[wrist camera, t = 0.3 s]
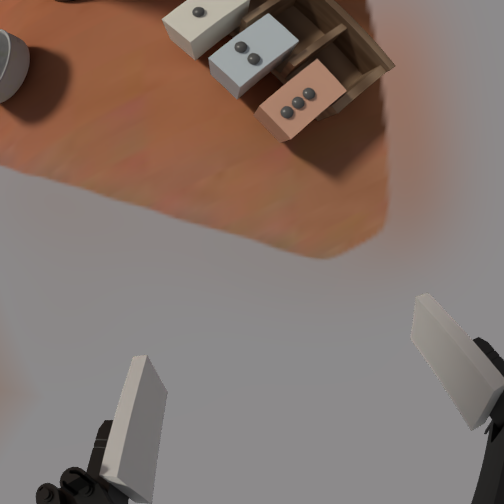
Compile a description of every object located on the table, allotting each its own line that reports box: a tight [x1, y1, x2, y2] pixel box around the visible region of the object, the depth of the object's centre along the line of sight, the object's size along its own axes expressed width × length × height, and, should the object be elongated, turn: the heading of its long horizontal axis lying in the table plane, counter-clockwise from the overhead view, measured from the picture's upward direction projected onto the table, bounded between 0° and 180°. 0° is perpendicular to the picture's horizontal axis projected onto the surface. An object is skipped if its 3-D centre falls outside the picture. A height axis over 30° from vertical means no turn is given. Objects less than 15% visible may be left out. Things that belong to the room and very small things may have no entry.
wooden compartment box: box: [229, 0, 395, 121], centre depth 28 cm, size 10×21×8 cm, turn 44°
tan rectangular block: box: [253, 59, 347, 143], centre depth 29 cm, size 8×4×6 cm, turn 134°
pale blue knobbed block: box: [208, 13, 299, 99], centre depth 27 cm, size 8×4×6 cm, turn 134°
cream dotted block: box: [162, 0, 250, 61], centre depth 25 cm, size 8×4×6 cm, turn 134°
